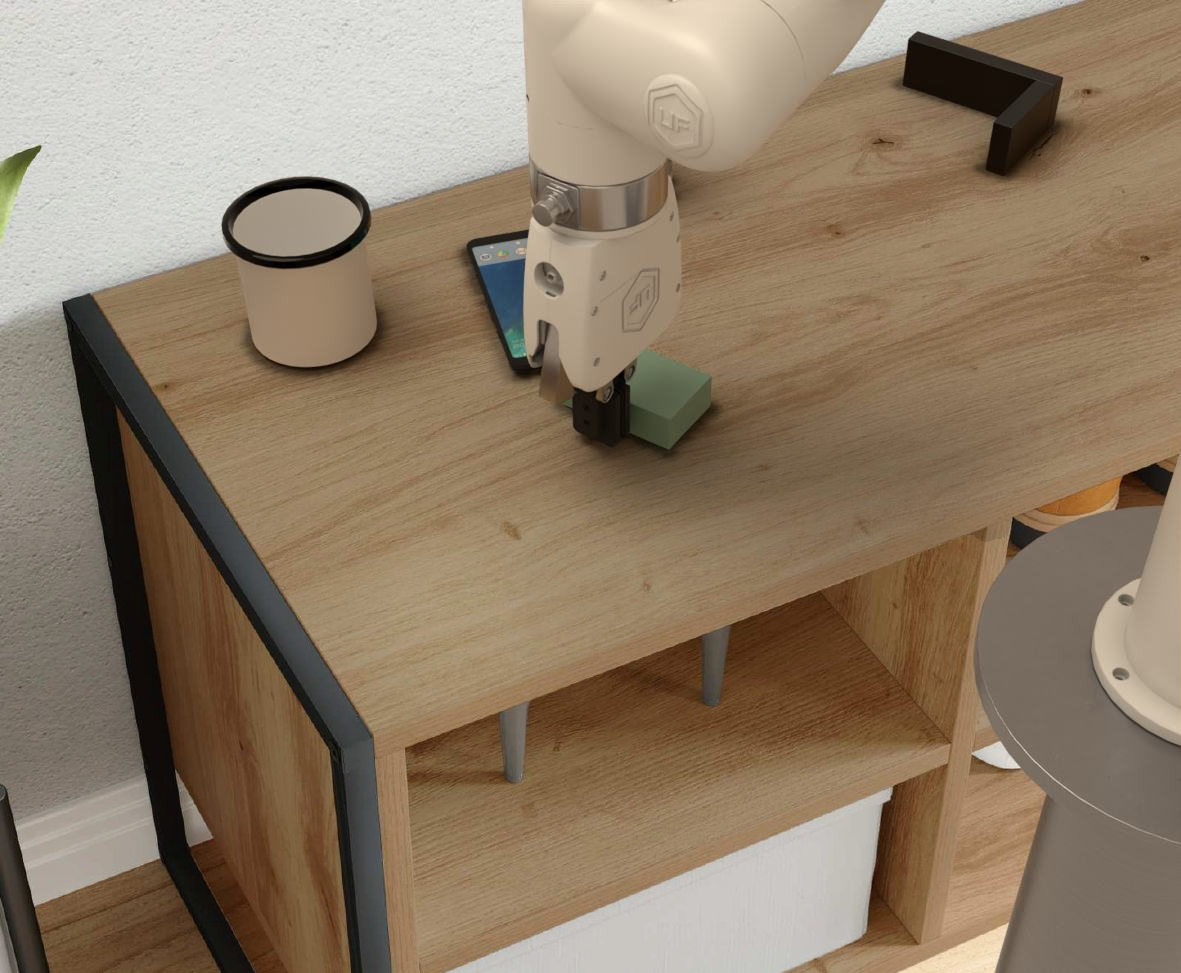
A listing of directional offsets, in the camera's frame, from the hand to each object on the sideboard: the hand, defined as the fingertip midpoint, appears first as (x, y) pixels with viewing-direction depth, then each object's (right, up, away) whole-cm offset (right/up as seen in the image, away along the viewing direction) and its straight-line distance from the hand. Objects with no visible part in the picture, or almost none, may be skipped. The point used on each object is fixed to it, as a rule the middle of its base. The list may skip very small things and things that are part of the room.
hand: (601, 432), depth 106 cm
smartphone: (-4, +10, +11) cm, 15 cm away
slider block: (+2, +2, +3) cm, 4 cm away
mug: (-20, +8, +10) cm, 24 cm away
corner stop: (+27, +26, +25) cm, 45 cm away
